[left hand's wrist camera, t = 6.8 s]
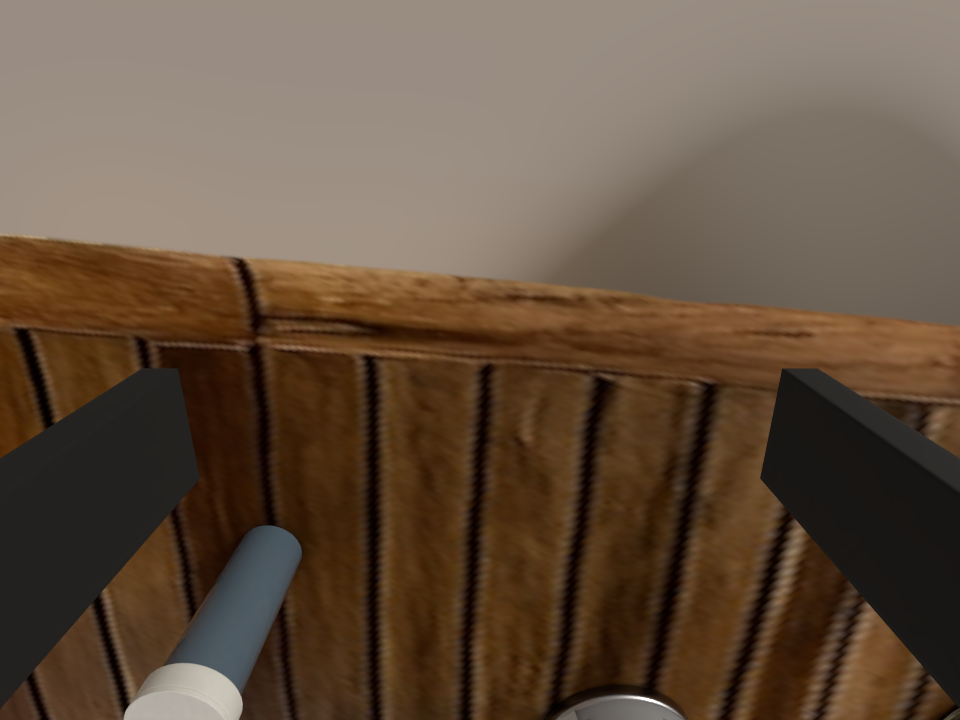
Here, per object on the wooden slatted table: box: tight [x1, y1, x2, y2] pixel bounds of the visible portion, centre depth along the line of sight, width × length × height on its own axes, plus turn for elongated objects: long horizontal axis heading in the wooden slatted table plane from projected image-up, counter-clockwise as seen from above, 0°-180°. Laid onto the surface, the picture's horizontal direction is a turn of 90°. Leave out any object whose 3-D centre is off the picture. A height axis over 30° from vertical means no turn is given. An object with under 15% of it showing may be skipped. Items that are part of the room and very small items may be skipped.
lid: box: [124, 663, 242, 720], centre depth 34 cm, size 6×6×2 cm
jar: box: [163, 525, 302, 695], centre depth 40 cm, size 5×5×15 cm
